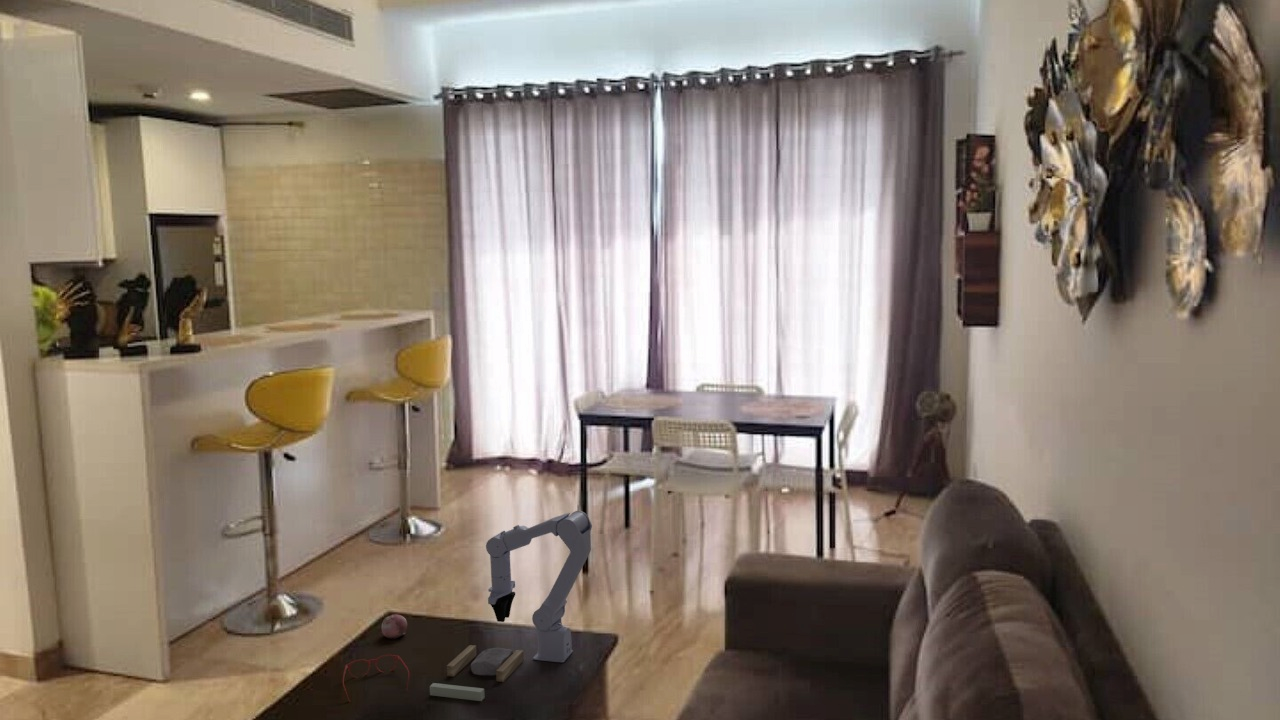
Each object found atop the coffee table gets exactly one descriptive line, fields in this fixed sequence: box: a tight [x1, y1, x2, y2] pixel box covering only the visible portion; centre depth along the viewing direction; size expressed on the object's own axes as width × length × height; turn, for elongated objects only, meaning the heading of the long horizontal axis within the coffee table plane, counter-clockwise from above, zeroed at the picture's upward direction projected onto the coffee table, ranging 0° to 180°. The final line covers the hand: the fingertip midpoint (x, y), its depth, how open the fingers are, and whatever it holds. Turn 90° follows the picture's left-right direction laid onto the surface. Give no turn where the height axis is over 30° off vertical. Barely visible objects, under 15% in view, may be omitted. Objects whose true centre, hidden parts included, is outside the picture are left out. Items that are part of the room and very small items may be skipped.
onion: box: [380, 614, 408, 640], centre depth 287 cm, size 8×8×7 cm
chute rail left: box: [446, 644, 478, 677], centre depth 265 cm, size 2×14×3 cm, turn 164°
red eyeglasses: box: [342, 654, 410, 703], centre depth 255 cm, size 17×16×5 cm
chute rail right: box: [495, 649, 525, 683], centre depth 261 cm, size 2×14×3 cm, turn 164°
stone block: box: [470, 647, 514, 676], centre depth 264 cm, size 12×5×10 cm
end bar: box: [429, 682, 486, 702], centre depth 246 cm, size 15×2×2 cm, turn 74°
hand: (503, 619), depth 274 cm, fingers open, 3 cm apart
